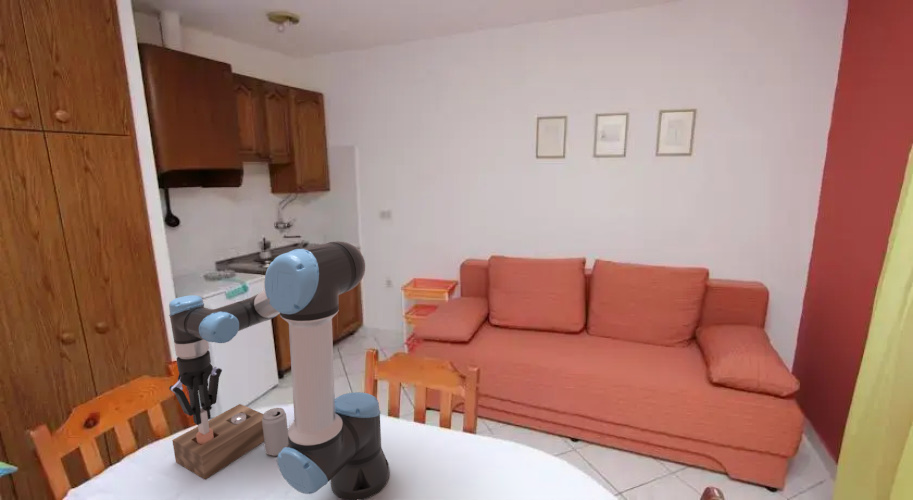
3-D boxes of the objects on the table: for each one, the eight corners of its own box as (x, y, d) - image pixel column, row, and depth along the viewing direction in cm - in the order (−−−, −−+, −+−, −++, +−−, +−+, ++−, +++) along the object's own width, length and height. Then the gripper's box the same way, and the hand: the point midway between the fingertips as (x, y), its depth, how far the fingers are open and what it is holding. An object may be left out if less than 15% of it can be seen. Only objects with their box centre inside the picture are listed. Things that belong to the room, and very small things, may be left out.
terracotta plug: (218, 449, 116) (215, 430, 114) (204, 458, 112) (201, 439, 111) (210, 445, 118) (207, 426, 116) (195, 453, 114) (193, 434, 113)
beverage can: (280, 458, 115) (276, 420, 113) (260, 455, 117) (256, 418, 114) (293, 444, 121) (290, 407, 119) (274, 441, 123) (270, 405, 120)
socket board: (270, 436, 125) (268, 416, 124) (204, 479, 108) (201, 456, 106) (242, 423, 132) (239, 403, 130) (175, 462, 114) (172, 439, 113)
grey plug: (251, 432, 124) (248, 415, 123) (238, 440, 121) (236, 422, 120) (242, 429, 126) (240, 411, 125) (230, 436, 123) (228, 418, 122)
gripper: (209, 341, 116) (218, 415, 121) (158, 360, 105) (171, 441, 110) (225, 346, 113) (234, 423, 118) (174, 366, 102) (187, 450, 106)
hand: (204, 431), depth 114 cm, fingers closed
